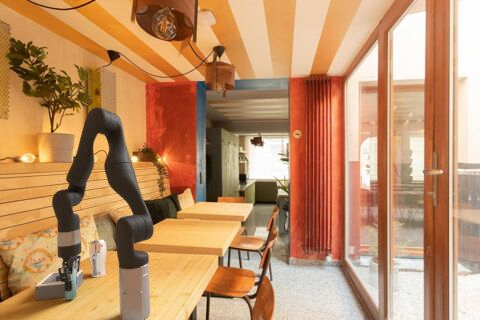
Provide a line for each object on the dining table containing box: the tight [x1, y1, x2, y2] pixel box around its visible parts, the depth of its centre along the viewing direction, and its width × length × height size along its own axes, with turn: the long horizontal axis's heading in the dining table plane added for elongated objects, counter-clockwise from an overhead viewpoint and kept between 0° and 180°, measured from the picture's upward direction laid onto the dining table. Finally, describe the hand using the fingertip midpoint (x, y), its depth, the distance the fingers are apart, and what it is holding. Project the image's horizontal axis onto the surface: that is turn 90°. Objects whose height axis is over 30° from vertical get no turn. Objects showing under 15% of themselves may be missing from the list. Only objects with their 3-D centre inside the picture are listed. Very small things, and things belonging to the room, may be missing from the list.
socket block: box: [34, 269, 84, 301], centre depth 107 cm, size 12×12×5 cm
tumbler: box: [88, 238, 108, 278], centre depth 122 cm, size 7×7×15 cm
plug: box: [64, 263, 78, 300], centre depth 100 cm, size 4×4×12 cm
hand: (71, 288), depth 100 cm, fingers closed on plug, 3 cm apart
